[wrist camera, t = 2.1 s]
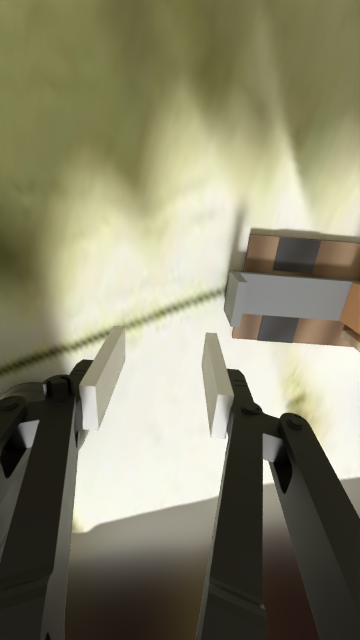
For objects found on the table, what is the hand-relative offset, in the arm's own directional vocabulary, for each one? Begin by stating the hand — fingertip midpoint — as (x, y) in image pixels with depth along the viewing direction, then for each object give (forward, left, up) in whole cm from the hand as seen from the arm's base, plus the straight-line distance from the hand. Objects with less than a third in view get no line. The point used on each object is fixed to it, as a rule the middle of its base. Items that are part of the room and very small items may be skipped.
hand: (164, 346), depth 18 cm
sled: (+17, 0, -16) cm, 24 cm away
